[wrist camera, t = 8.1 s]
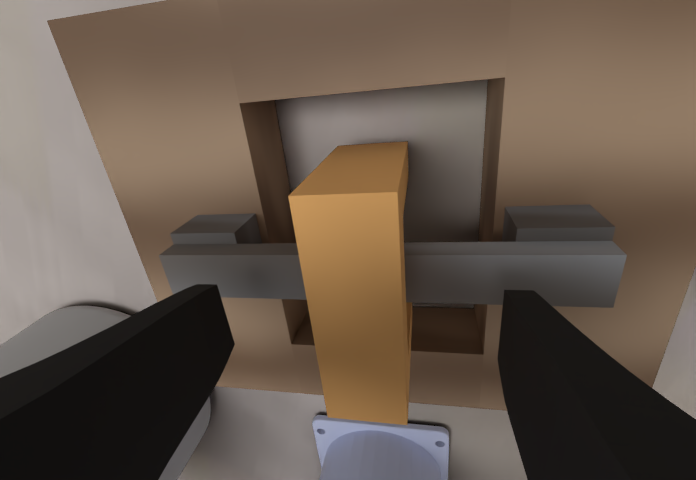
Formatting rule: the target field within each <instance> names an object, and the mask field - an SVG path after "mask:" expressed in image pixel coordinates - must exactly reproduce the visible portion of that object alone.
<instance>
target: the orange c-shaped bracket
mask: <svg viewBox="0 0 696 480" xmlns="http://www.w3.org/2000/svg"><path fill="white" fill-rule="evenodd" d="M408 176H409V171H408V141H405V142H390V143H374V144H359V145H343V146H337V147H336V148H335V149H334V150H333V151H332V152H331V153H330V154H329V155H328V156H327V157H326V158H325V160H324V161H323V162H322V163H321V164H320V165H319V166H318V167H317V168H316V169H315V170H314V171H313V172H312V173H311V174H310V175H309V176H308V177H307V178H306V179H305V180H304V181H303V182H302V183H301V184H300V185H299V186H298V187H297V188H296V189H295V190H294V191H293V192H292V193H291V194H290V195H289V196H288V198H289V203H290V209H291V215H292V220H293V226H294V231H295V237H296V242H297V248H298V254H299V259H300V265H301V270H302V276H303V282H304V287H305V293H306V298H307V304H308V310H309V315H310V321H311V326H312V332H313V338H314V343H315V349H316V354H317V360H318V366H319V371H320V377H321V382H322V388H323V394H324V399H325V405H326V410H327V416H328V418H338V419H349V420H359V421H369V422H379V423H389V424H400V425H407V424H408V402H409V380H410V358H411V336H412V314H413V313H412V302H406V285H405V258H404V231H403V213H404V206H405V198H406V191H407V183H408Z"/></svg>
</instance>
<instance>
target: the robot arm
mask: <svg viewBox="0 0 696 480" xmlns="http://www.w3.org/2000/svg"><path fill="white" fill-rule="evenodd" d="M234 345H235V343H234V340H233V336H232V333H231V330H230V326H229V323H228V320H227V316H226V313H225V309H224V306H223V303H222V299H221V296H220V293H219V289H218V286H217V284H196V285H193V286H191V287H188V288H186V289H184V290H182V291H179V292H177V293H175V294H173V295H171V296H169V297H167V298H165V299H163V300H161V301H159V302H157V303H155V304H153V305H152V306H150V307H148V308H146V309H144V310H142V311H140V312H138V313H136V314H134V315H132V316H130V317H129V318H127V319H125V320H123V321H121V322H119V323H117V324H115V325H113V326H111V327H109V328H107V329H105V330H103V331H101V332H99V333H97V334H95V335H93V336H91V337H89V338H87V339H85V340H83V341H81V342H79V343H77V344H75V345H73V346H71V347H69V348H67V349H65V350H62V351H60V352H58V353H56V354H54V355H52V356H50V357H47V358H45V359H43V360H41V361H38V362H36V363H34V364H32V365H29V366H27V367H24V368H22V369H20V370H17V371H15V372H13V373H10V374H8V375H6V376H3V377H1V378H0V480H159V478H160V476H161V474H162V473H163V471H164V469H165V467H166V466H167V464H168V462H169V460H170V459H171V457H172V456H173V454H174V452H175V451H176V449H177V448H178V446H179V444H180V443H181V441H182V439H183V438H184V436H185V435H186V433H187V431H188V430H189V428H190V427H191V425H192V423H193V422H194V420H195V419H196V417H197V415H198V414H199V412H200V410H201V409H202V407H203V406H204V404H205V402H206V401H207V399H208V397H209V396H210V394H211V392H212V391H213V389H214V387H215V386H216V384H217V382H218V381H219V379H220V377H221V375H222V373H223V370H224V368H225V366H226V364H227V362H228V359H229V357H230V355H231V352H232V350H233V348H234ZM497 360H498V366H499V372H500V378H501V384H502V389H503V395H504V401H505V404H506V408H507V411H508V415H509V418H510V422H511V425H512V428H513V432H514V435H515V439H516V442H517V445H518V449H519V452H520V455H521V459H522V462H523V465H524V469H525V472H526V476H527V479H528V480H696V419H694V418H693V417H691V416H690V415H688V414H687V413H686V412H684V411H683V410H681V409H680V408H678V407H677V406H676V405H674V404H673V403H671V402H670V401H669V400H667V399H666V398H664V397H663V396H662V395H660V394H659V393H658V392H656V391H655V390H654V389H652V388H651V387H650V386H649V385H647V384H646V383H645V382H643V381H642V380H641V379H639V378H638V377H637V376H635V375H634V374H633V373H631V372H630V371H629V370H627V369H626V368H625V367H624V366H622V365H621V364H620V363H618V362H617V361H616V360H615V359H613V358H612V357H611V356H610V355H608V354H607V353H606V352H605V351H604V350H602V349H601V348H600V347H599V346H597V345H596V344H595V343H594V342H593V341H592V340H590V339H589V338H588V337H587V336H586V335H584V334H583V333H582V332H581V331H580V330H579V329H577V328H576V327H575V326H574V325H573V324H572V323H571V322H569V321H568V320H567V319H566V318H565V317H564V316H563V315H561V314H560V313H559V312H558V311H557V310H556V309H555V308H553V307H552V306H551V305H550V304H549V303H548V302H547V301H546V300H544V299H543V298H542V297H541V296H540V295H539V294H538V293H536V292H535V291H534V290H504V298H503V308H502V318H501V328H500V338H499V348H498V358H497ZM312 425H313V430H314V435H315V440H316V445H317V449H318V454H319V459H320V464H321V468H322V471H321V475H320V479H319V480H448V462H449V432H448V430H447V429H445V428H444V427H440V426H430V425H420V424H410V423H408V424H407V425H400V424H389V423H379V422H369V421H359V420H349V419H338V418H328V416H326V415H317V416H315V417H314V419H313V422H312Z"/></svg>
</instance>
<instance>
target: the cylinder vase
mask: <svg viewBox="0 0 696 480" xmlns="http://www.w3.org/2000/svg"><path fill="white" fill-rule="evenodd" d="M129 317H130V315H128V314H125V313H122V312H119V311H116V310H112V309H108V308H103V307H96V306H72V307H66V308H62V309H58V310H56V311H53V312H51V313H49V314H47V315H45V316H44V317H42V318H41V319H39V320H38V321H36V322H35V323H33V324H32V325H30V326H29V327H27V328H26V329H24V330H23V331H21V332H20V333H18V334H17V335H15V336H14V337H12V338H11V339H9V340H8V341H6V342H5V343H3V344H2V345H1V346H0V378H1V377H3V376H6V375H8V374H10V373H13V372H15V371H17V370H20V369H22V368H24V367H27V366H29V365H32V364H34V363H36V362H38V361H41V360H43V359H45V358H47V357H50V356H52V355H54V354H56V353H58V352H60V351H62V350H65V349H67V348H69V347H71V346H73V345H75V344H77V343H79V342H81V341H83V340H85V339H87V338H89V337H91V336H93V335H95V334H97V333H99V332H101V331H103V330H105V329H107V328H109V327H111V326H113V325H115V324H117V323H119V322H121V321H123V320H125V319H127V318H129ZM210 414H211V404H210V397H208V399H207V401H206V402H205V404H204V406H203V407H202V409H201V410H200V412H199V414H198V415H197V417H196V419H195V420H194V422H193V423H192V425H191V427H190V428H189V430H188V431H187V433H186V435H185V436H184V438H183V439H182V441H181V443H180V444H179V446H178V448H177V449H176V451H175V452H174V454H173V456H172V457H171V459H170V460H169V462H168V464H167V466H166V467H165V469H164V471H163V473H162V474H161V476H160V478H159V480H177V479H178V477H179V476H180V474H181V472H182V471H183V469H184V467H185V466H186V464H187V462H188V460H189V459H190V457H191V455H192V454H193V452H194V450H195V448H196V447H197V445H198V443H199V442H200V440H201V438H202V437H203V435H204V433H205V431H206V429H207V427H208V424H209V420H210Z"/></svg>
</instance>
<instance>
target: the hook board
mask: <svg viewBox="0 0 696 480" xmlns="http://www.w3.org/2000/svg"><path fill="white" fill-rule="evenodd" d="M47 22H48V25H49V27H50V30H51V32H52V35H53V37H54V40H55V42H56V45H57V47H58V50H59V53H60V55H61V58H62V60H63V63H64V65H65V68H66V70H67V73H68V75H69V78H70V80H71V83H72V86H73V88H74V91H75V93H76V96H77V98H78V101H79V103H80V106H81V108H82V111H83V113H84V116H85V119H86V121H87V124H88V126H89V129H90V131H91V134H92V136H93V139H94V141H95V144H96V146H97V149H98V152H99V154H100V157H101V159H102V162H103V164H104V167H105V169H106V172H107V174H108V177H109V179H110V182H111V185H112V187H113V190H114V192H115V195H116V197H117V200H118V202H119V205H120V207H121V210H122V212H123V215H124V218H125V220H126V223H127V225H128V228H129V230H130V233H131V235H132V238H133V240H134V243H135V245H136V248H137V251H138V253H139V256H140V258H141V261H142V263H143V266H144V268H145V271H146V273H147V276H148V278H149V281H150V284H151V286H152V289H153V291H154V294H155V296H156V299H157V301H158V302H159V301H161V300H163V299H165V298H167V297H169V296H171V295H173V294H175V293H177V292H179V291H182V290H184V289H186V288H188V287H191V286H193V285H196V284H217V286H218V289H219V293H220V296H221V299H222V303H223V306H224V309H225V313H226V316H227V320H228V323H229V326H230V330H231V333H232V336H233V340H234V343H235V345H234V348H233V350H232V352H231V355H230V357H229V359H228V362H227V364H226V366H225V368H224V370H223V373H222V375H221V377H220V379H219V381H218V382H217V384H216V386H221V387H233V388H244V389H256V390H268V391H280V392H292V393H304V394H316V395H324V394H323V388H322V382H321V377H320V371H319V366H318V360H317V354H316V349H315V343H314V338H313V332H312V326H311V321H310V315H309V310H308V304H307V298H306V293H305V287H304V282H303V276H302V270H301V265H300V259H299V254H298V248H297V242H296V237H295V231H294V226H293V220H292V215H291V209H290V203H289V198H288V196H289V195H290V194H291V192H290V186H289V181H288V175H287V169H286V164H285V158H284V152H283V146H282V141H281V135H280V129H279V124H278V118H277V112H276V107H275V101H274V100H278V99H288V98H299V97H309V96H319V95H329V94H340V93H350V92H360V91H371V90H381V89H391V88H402V87H412V86H422V85H432V84H443V83H453V82H463V81H474V80H484V79H488V86H487V103H486V119H485V136H484V153H483V170H482V186H481V203H480V220H479V237H478V242H404V258H405V285H406V302H413V303H450V304H474V309H470V308H436V307H412V313H413V314H412V336H411V358H410V380H409V402H411V403H423V404H435V405H447V406H459V407H471V408H483V409H495V410H506V411H507V408H506V404H505V401H504V395H503V389H502V384H501V378H500V372H499V366H498V360H497V358H498V348H499V338H500V328H501V318H502V308H503V298H504V290H534V291H535V292H536V293H538V294H539V295H540V296H541V297H542V298H543V299H544V300H546V301H547V302H548V303H549V304H550V305H551V306H552V307H553V308H555V309H556V310H557V311H558V312H559V313H560V314H561V315H563V316H564V317H565V318H566V319H567V320H568V321H569V322H571V323H572V324H573V325H574V326H575V327H576V328H577V329H579V330H580V331H581V332H582V333H583V334H584V335H586V336H587V337H588V338H589V339H590V340H592V341H593V342H594V343H595V344H596V345H597V346H599V347H600V348H601V349H602V350H604V351H605V352H606V353H607V354H608V355H610V356H611V357H612V358H613V359H615V360H616V361H617V362H618V363H620V364H621V365H622V366H624V367H625V368H626V369H627V370H629V371H630V372H631V373H633V374H634V375H635V376H637V377H638V378H639V379H641V380H642V381H643V382H645V383H646V384H647V385H649V386H650V387H651V388H652V387H653V384H654V381H655V378H656V375H657V373H658V370H659V367H660V364H661V361H662V359H663V356H664V353H665V350H666V347H667V345H668V342H669V339H670V336H671V333H672V331H673V328H674V325H675V322H676V319H677V317H678V314H679V311H680V308H681V305H682V303H683V300H684V297H685V294H686V292H687V289H688V286H689V283H690V280H691V278H692V275H693V272H694V269H695V266H696V0H166V1H160V2H154V3H148V4H142V5H137V6H131V7H125V8H119V9H113V10H107V11H101V12H95V13H90V14H84V15H78V16H72V17H66V18H60V19H54V20H48V21H47Z"/></svg>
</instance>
